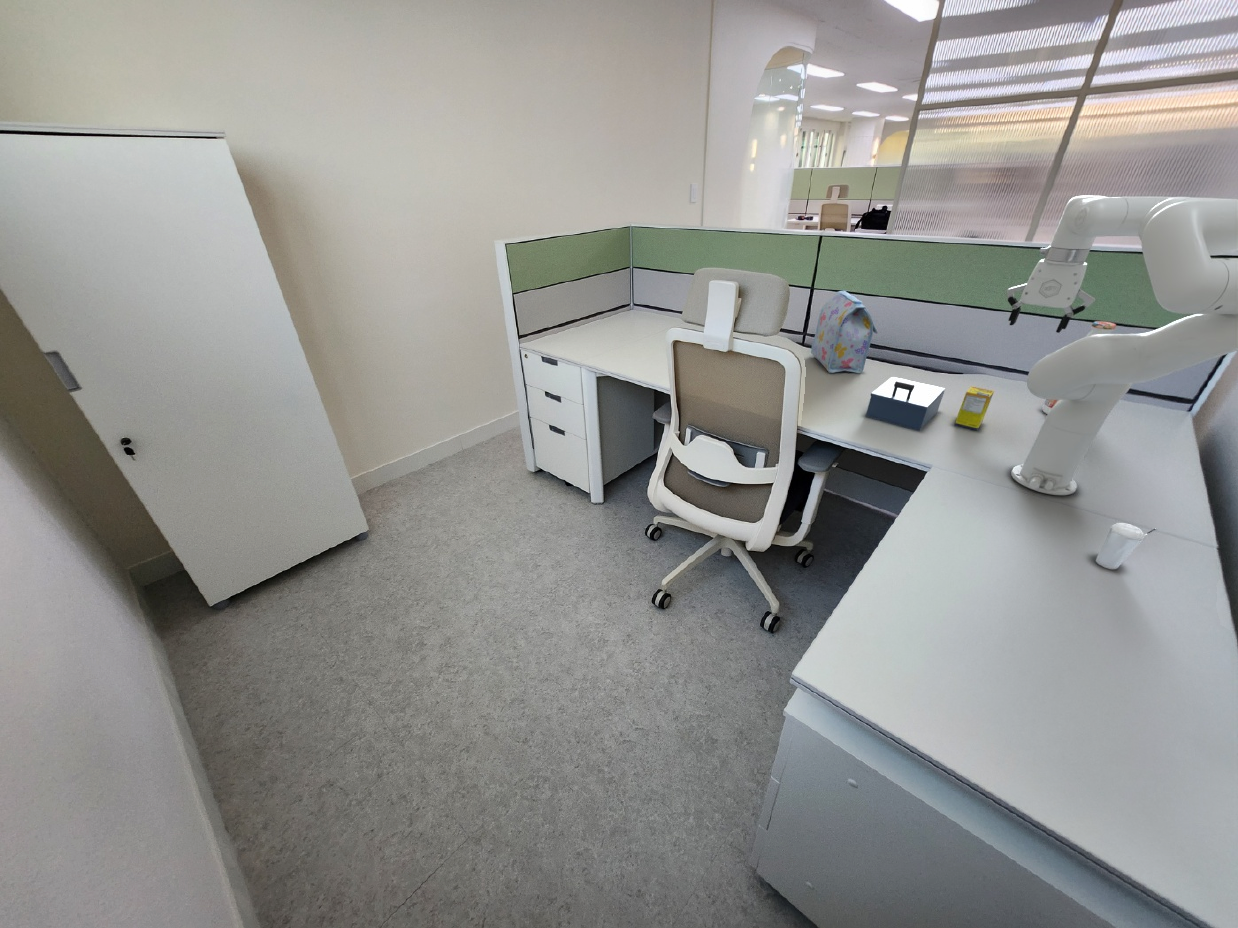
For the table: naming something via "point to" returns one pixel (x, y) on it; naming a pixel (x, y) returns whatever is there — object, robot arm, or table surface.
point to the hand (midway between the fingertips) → (1034, 327)
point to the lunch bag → (843, 334)
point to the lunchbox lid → (908, 392)
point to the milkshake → (1119, 544)
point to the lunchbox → (902, 412)
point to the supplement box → (974, 408)
